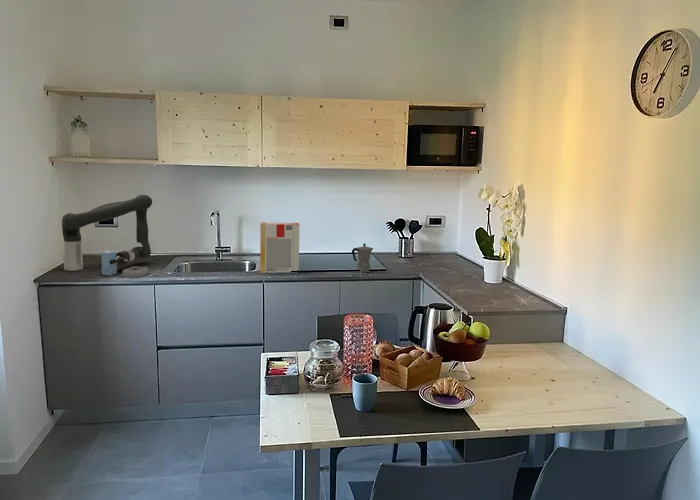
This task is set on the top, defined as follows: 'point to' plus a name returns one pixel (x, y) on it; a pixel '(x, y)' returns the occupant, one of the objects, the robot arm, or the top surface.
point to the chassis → (135, 272)
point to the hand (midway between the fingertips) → (106, 262)
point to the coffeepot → (363, 257)
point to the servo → (108, 263)
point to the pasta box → (279, 247)
